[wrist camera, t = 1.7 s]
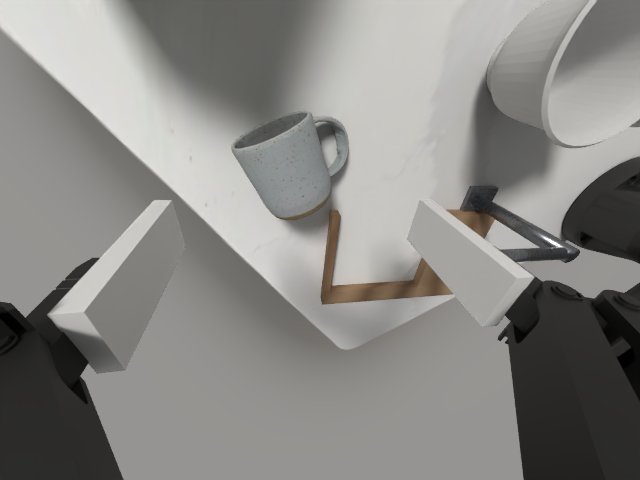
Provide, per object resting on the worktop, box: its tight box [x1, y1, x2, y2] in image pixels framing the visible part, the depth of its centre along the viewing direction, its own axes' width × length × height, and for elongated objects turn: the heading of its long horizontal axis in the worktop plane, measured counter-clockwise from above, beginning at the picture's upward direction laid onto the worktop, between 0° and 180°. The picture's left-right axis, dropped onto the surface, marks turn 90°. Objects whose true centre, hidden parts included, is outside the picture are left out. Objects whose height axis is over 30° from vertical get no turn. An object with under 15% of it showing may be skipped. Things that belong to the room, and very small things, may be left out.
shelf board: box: [321, 210, 495, 304], centre depth 36 cm, size 24×16×2 cm, turn 86°
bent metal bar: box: [460, 186, 580, 263], centre depth 27 cm, size 17×4×14 cm, turn 86°
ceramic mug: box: [231, 111, 349, 220], centre depth 23 cm, size 11×8×8 cm
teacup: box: [487, 0, 640, 148], centre depth 21 cm, size 12×15×10 cm
